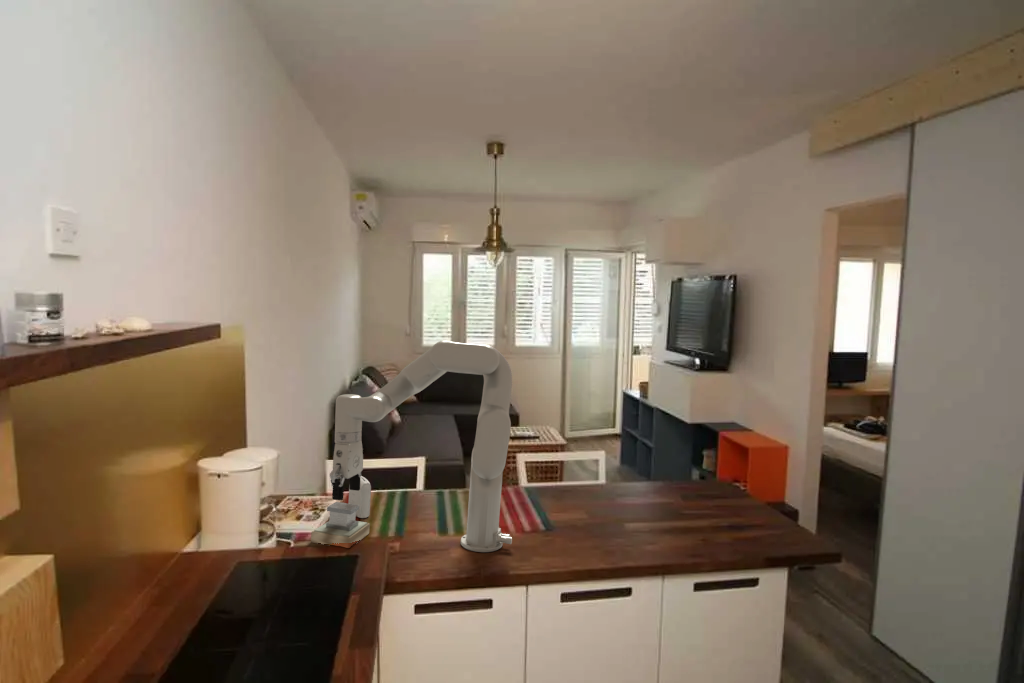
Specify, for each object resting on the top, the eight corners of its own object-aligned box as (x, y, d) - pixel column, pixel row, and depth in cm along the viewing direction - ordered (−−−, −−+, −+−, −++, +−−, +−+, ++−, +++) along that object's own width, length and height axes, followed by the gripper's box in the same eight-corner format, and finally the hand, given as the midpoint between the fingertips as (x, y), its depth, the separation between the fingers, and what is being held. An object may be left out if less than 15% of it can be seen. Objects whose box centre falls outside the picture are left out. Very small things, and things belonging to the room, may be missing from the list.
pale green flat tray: (369, 533, 160) (369, 522, 160) (349, 548, 149) (350, 536, 149) (333, 527, 163) (334, 516, 163) (310, 542, 151) (311, 530, 151)
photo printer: (346, 509, 179) (348, 473, 179) (358, 507, 182) (360, 472, 181) (358, 519, 171) (361, 481, 171) (371, 517, 174) (373, 480, 173)
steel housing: (358, 525, 157) (359, 505, 157) (349, 531, 152) (350, 510, 152) (335, 521, 159) (336, 501, 159) (325, 527, 154) (327, 506, 154)
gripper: (344, 443, 146) (342, 505, 146) (373, 432, 163) (371, 487, 163) (320, 441, 147) (318, 502, 148) (351, 430, 164) (349, 485, 165)
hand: (346, 494), depth 156 cm, fingers open, 9 cm apart
